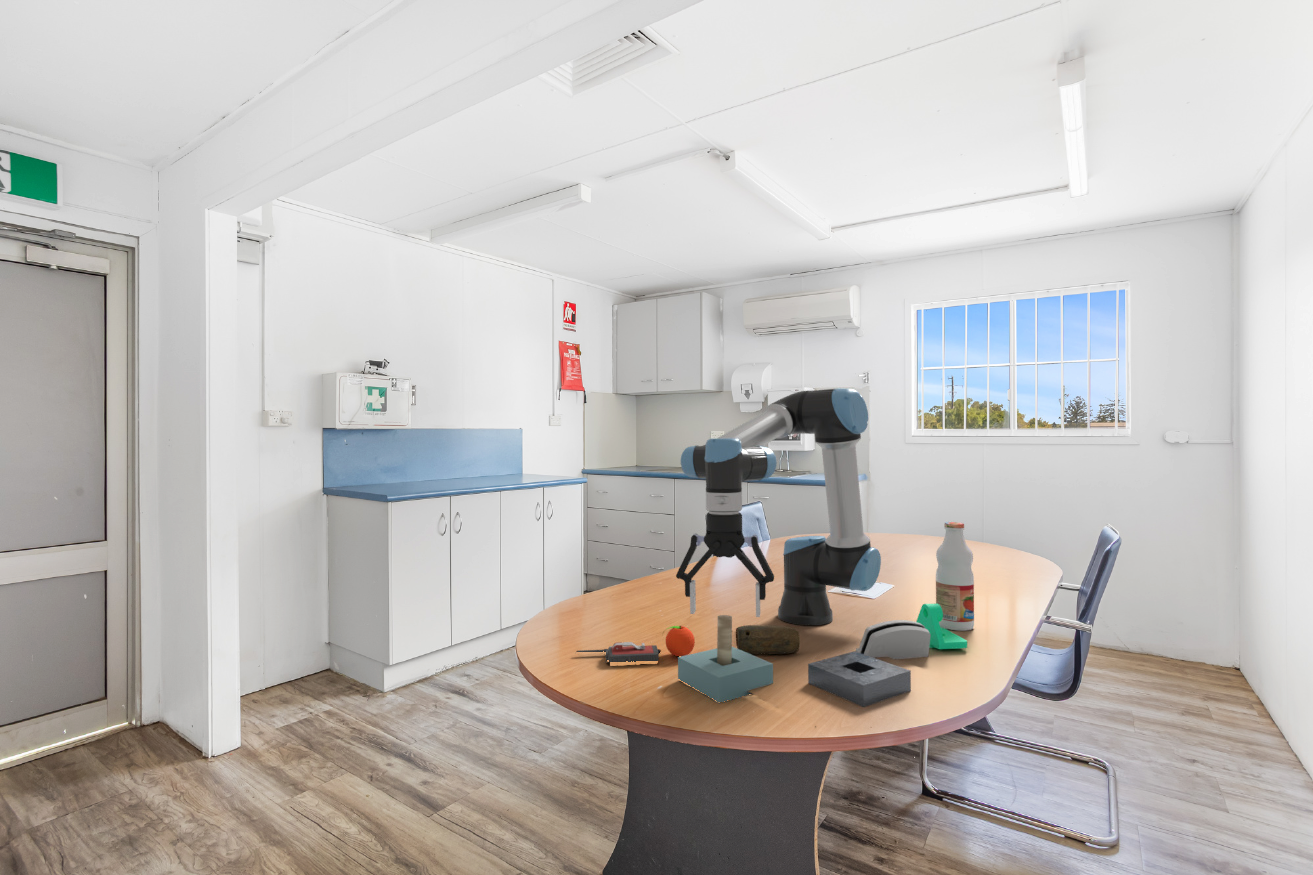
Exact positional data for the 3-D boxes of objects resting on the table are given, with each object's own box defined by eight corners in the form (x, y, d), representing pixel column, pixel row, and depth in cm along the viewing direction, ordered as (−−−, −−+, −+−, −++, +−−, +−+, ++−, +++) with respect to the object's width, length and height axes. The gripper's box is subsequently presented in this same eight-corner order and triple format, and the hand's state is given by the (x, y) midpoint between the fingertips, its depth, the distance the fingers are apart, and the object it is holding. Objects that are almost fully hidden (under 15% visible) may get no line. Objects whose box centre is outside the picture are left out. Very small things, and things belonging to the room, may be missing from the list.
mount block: (808, 688, 132) (808, 663, 132) (854, 674, 140) (854, 651, 140) (863, 712, 120) (863, 685, 120) (910, 695, 128) (910, 670, 128)
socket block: (678, 680, 136) (677, 657, 136) (729, 667, 144) (729, 645, 144) (719, 703, 125) (719, 677, 125) (773, 687, 132) (772, 663, 132)
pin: (714, 678, 135) (714, 616, 135) (725, 675, 136) (725, 614, 137) (723, 683, 132) (723, 619, 132) (734, 680, 134) (735, 617, 134)
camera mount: (969, 652, 154) (968, 609, 154) (938, 653, 153) (938, 610, 153) (942, 637, 166) (941, 597, 166) (913, 638, 165) (913, 598, 165)
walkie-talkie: (659, 653, 155) (575, 656, 153) (659, 635, 155) (575, 638, 153) (664, 666, 146) (575, 670, 144) (664, 646, 146) (575, 650, 144)
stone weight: (739, 659, 150) (739, 630, 150) (733, 649, 157) (733, 622, 157) (802, 657, 151) (802, 628, 151) (793, 647, 158) (793, 620, 158)
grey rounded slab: (916, 649, 156) (924, 614, 153) (927, 662, 152) (936, 626, 148) (853, 654, 152) (860, 618, 149) (863, 668, 148) (871, 631, 145)
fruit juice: (935, 620, 181) (934, 520, 181) (972, 623, 178) (972, 521, 178) (936, 629, 172) (936, 524, 172) (975, 633, 169) (975, 526, 169)
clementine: (657, 658, 150) (657, 628, 150) (666, 649, 157) (666, 620, 157) (689, 662, 148) (689, 631, 148) (698, 653, 154) (698, 623, 154)
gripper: (661, 513, 133) (663, 615, 134) (784, 515, 128) (785, 621, 128) (668, 509, 141) (670, 606, 141) (785, 510, 135) (786, 611, 136)
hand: (725, 613), depth 135 cm, fingers open, 13 cm apart
